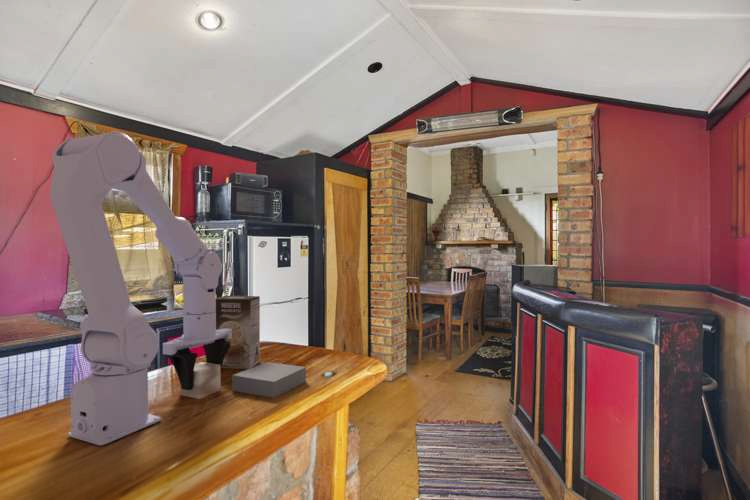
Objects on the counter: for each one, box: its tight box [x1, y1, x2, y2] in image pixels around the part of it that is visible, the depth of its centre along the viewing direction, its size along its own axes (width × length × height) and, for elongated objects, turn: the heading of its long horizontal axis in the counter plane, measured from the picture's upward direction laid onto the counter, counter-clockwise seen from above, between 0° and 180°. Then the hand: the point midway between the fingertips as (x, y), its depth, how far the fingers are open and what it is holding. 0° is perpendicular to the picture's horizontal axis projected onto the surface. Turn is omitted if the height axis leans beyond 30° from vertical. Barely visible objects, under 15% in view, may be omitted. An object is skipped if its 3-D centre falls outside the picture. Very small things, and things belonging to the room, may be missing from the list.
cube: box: [179, 361, 221, 400], centre depth 78 cm, size 5×5×5 cm
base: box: [231, 361, 307, 399], centre depth 81 cm, size 10×10×3 cm
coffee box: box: [216, 295, 261, 370], centre depth 96 cm, size 9×6×16 cm
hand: (200, 383), depth 78 cm, fingers open, 6 cm apart
